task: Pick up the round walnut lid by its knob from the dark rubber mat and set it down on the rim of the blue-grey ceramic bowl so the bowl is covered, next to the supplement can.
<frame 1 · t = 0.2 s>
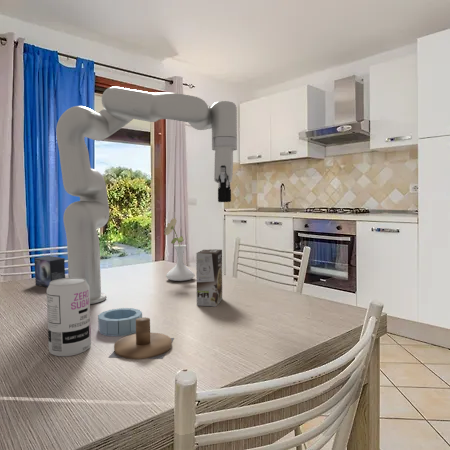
hand: (224, 201, 113), 31 cm above the table, tool pointing down, fingers open, 9 cm apart
flower in vase: (179, 280, 148), on the table
bowl: (120, 330, 91), on the table
mat: (143, 348, 80), on the table
coffee box: (210, 303, 116), on the table
lid: (143, 347, 80), resting on mat
supplement can: (70, 351, 79), on the table
small box: (50, 285, 141), on the table
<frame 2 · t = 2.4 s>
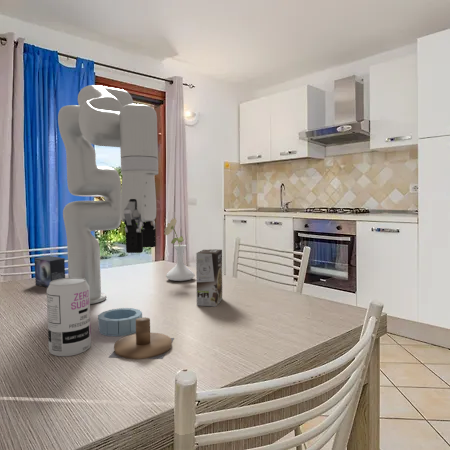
hand: (142, 249, 78), 21 cm above the table, tool pointing down, fingers open, 9 cm apart
nothing on the table moved.
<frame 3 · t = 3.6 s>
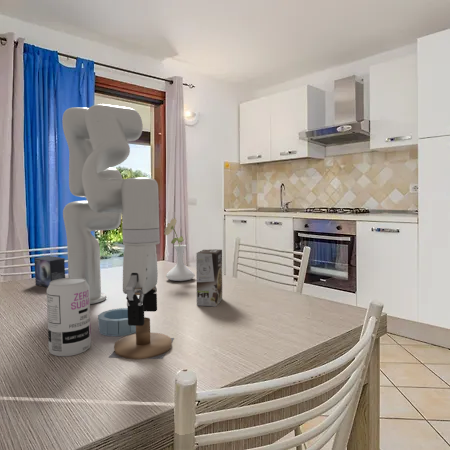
hand: (143, 317, 79), 7 cm above the table, tool pointing down, fingers open, 9 cm apart
nothing on the table moved.
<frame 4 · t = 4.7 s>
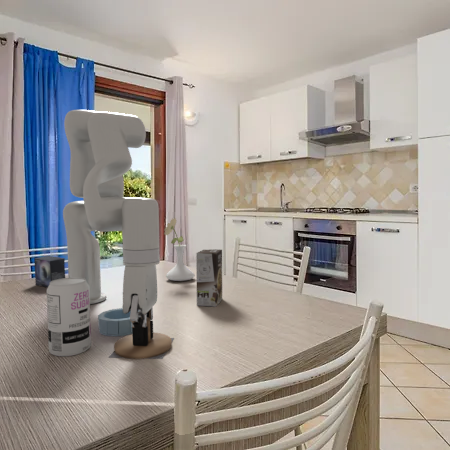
hand: (143, 341, 80), 2 cm above the table, tool pointing down, fingers closed on lid, 3 cm apart
lid: (143, 346, 80), resting on mat, touching gripper
everything else where it was.
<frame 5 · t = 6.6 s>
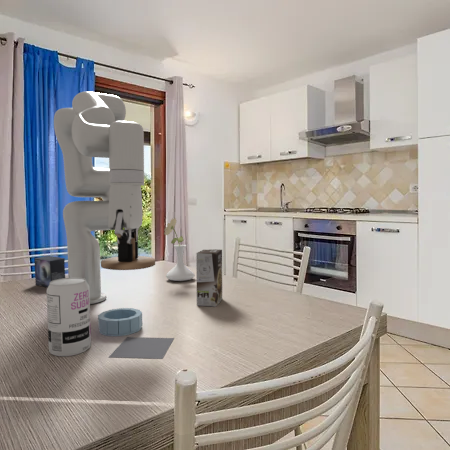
hand: (128, 259, 85), 18 cm above the table, tool pointing down, fingers closed on lid, 3 cm apart
lid: (128, 264, 85), point 17 cm above the table, touching gripper
everything else where it was.
when the fingers open (6 cm above the table, at t = 8.7 s): lid stays where it is, resting on bowl.
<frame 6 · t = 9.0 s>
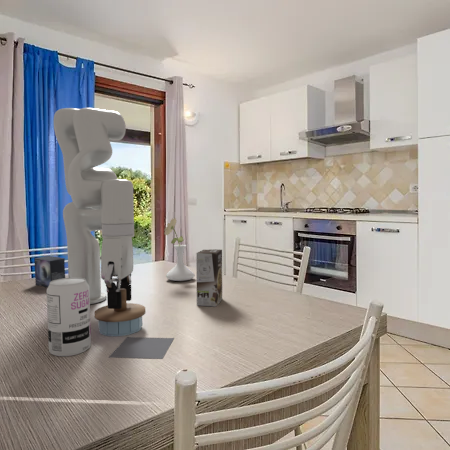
hand: (120, 303, 91), 7 cm above the table, tool pointing down, fingers open, 6 cm apart
lid: (120, 314, 91), point 4 cm above the table, touching bowl
everything else where it was.
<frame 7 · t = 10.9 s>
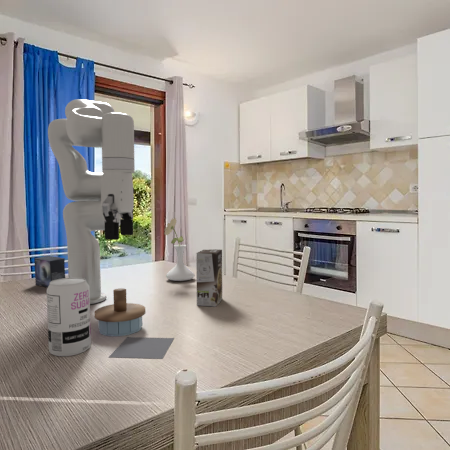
hand: (119, 237, 91), 23 cm above the table, tool pointing down, fingers open, 9 cm apart
nothing on the table moved.
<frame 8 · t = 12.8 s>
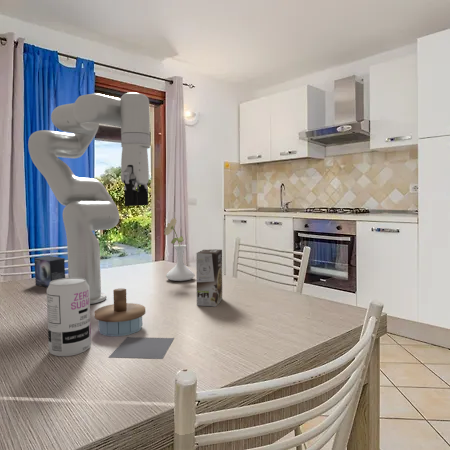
hand: (137, 205, 101), 30 cm above the table, tool pointing down, fingers open, 9 cm apart
nothing on the table moved.
at the end: lid 0.1 cm off-centre on the bowl, point 4.0 cm above the bowl's base; lid tilted 0°; the gripper is holding nothing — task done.
